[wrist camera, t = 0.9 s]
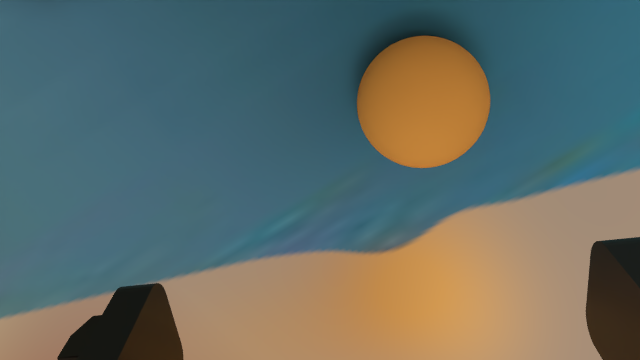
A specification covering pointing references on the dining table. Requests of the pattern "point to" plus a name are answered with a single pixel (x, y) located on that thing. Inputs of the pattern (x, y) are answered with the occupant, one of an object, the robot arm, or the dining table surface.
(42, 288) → the dining table surface
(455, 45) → the ball
